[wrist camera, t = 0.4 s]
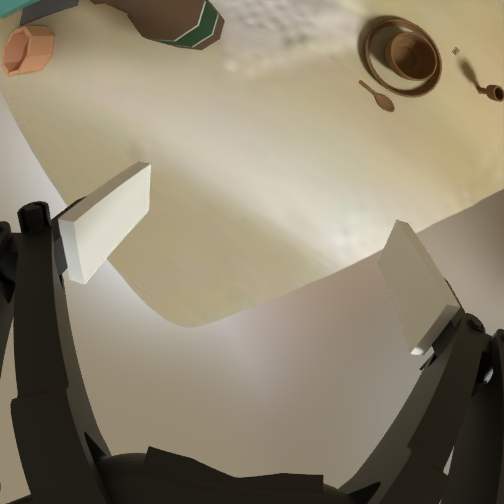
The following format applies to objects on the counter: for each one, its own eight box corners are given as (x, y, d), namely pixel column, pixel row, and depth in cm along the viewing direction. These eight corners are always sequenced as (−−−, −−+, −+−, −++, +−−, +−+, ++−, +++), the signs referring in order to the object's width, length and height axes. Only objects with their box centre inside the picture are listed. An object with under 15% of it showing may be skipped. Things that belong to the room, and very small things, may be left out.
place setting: (400, -5, 24) (415, -15, 19) (488, 89, 28) (509, 93, 23) (335, 70, 33) (343, 68, 28) (432, 160, 37) (450, 172, 32)
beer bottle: (169, 12, 29) (59, -30, 9) (222, -2, 28) (149, -77, 8) (176, 57, 33) (62, 45, 13) (230, 45, 32) (157, 0, 12)
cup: (26, 33, 29) (4, 34, 24) (56, 23, 28) (34, 21, 23) (22, 75, 33) (0, 79, 28) (51, 68, 33) (28, 70, 28)
